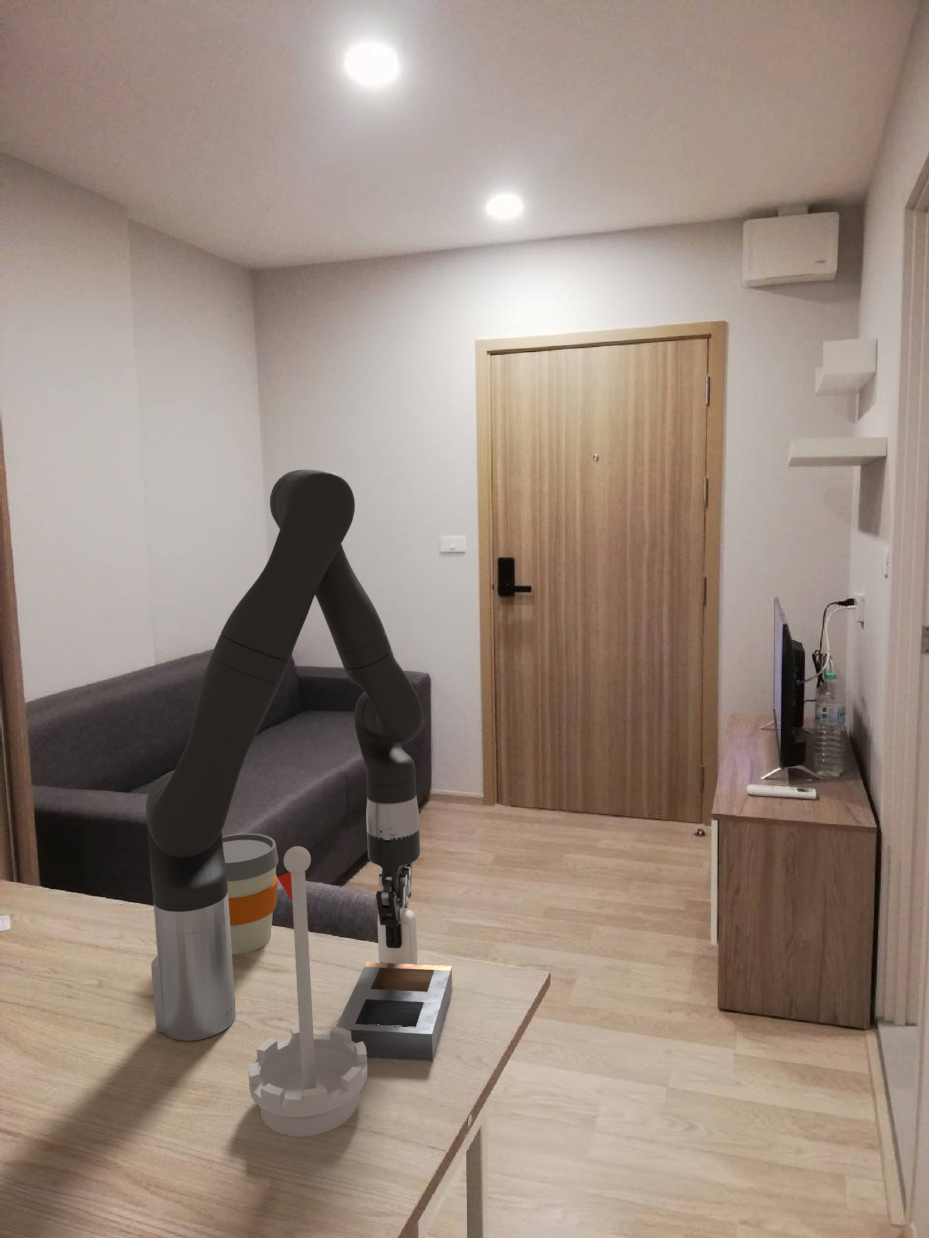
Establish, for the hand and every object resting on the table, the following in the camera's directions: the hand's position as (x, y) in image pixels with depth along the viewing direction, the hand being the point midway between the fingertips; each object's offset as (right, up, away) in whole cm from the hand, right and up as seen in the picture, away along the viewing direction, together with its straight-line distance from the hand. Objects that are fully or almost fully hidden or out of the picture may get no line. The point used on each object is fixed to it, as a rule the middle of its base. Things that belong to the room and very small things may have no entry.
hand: (397, 939), depth 130 cm
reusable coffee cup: (-25, -4, +9) cm, 27 cm away
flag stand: (-8, -8, -30) cm, 32 cm away
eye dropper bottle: (0, -4, +1) cm, 4 cm away
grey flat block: (+1, -6, -14) cm, 15 cm away
